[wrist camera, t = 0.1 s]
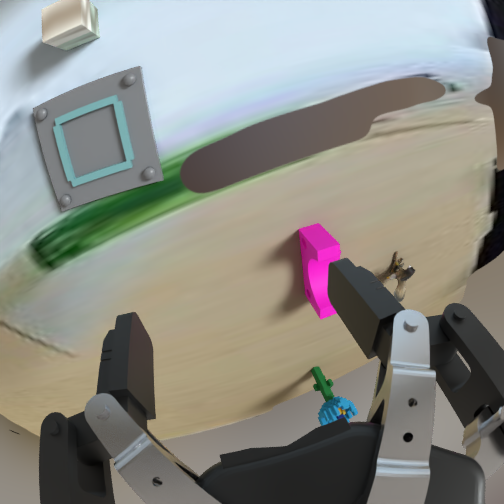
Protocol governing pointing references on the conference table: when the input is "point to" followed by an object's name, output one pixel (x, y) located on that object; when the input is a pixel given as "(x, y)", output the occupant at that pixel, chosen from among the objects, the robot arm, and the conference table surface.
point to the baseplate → (99, 139)
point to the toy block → (318, 266)
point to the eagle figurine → (400, 278)
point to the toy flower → (331, 401)
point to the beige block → (69, 23)
